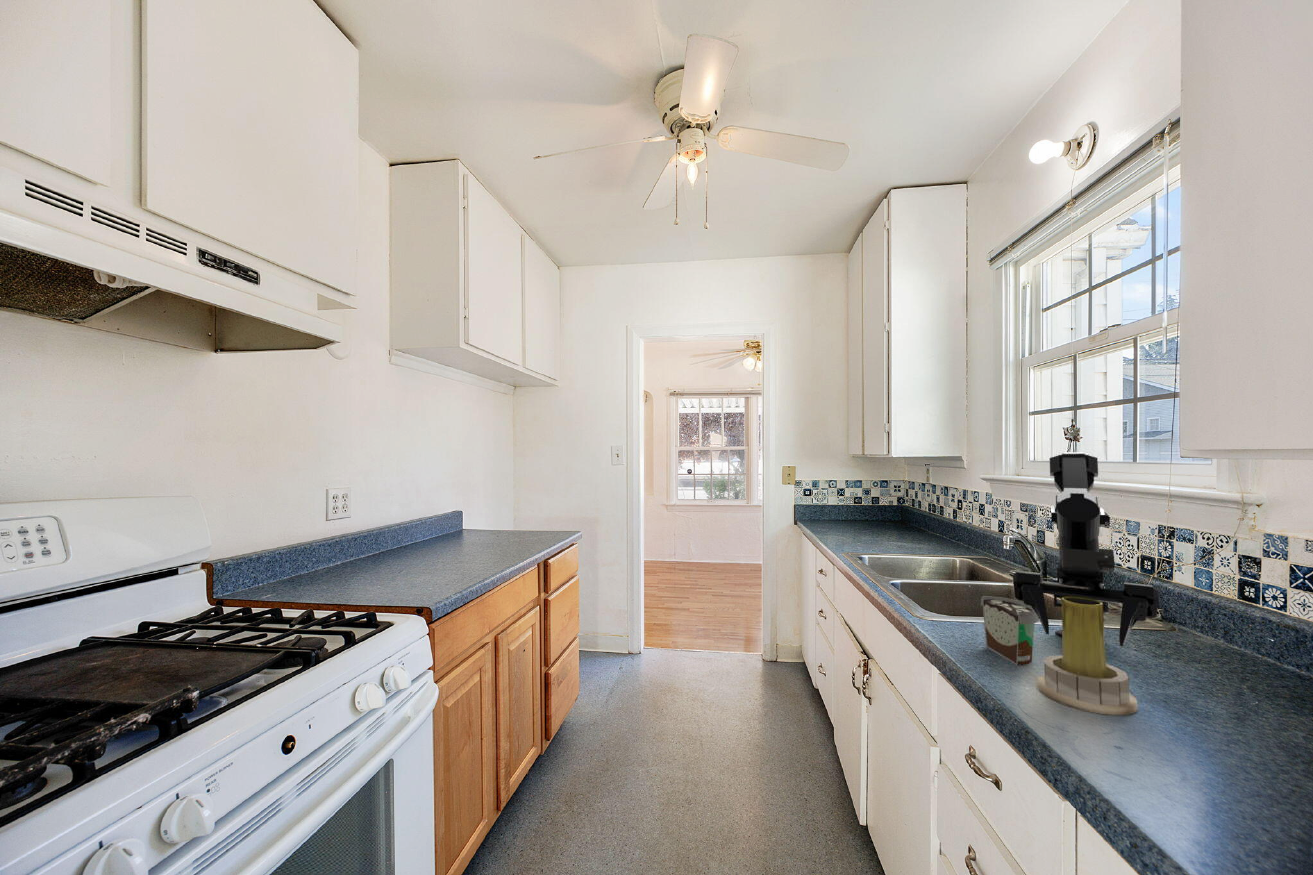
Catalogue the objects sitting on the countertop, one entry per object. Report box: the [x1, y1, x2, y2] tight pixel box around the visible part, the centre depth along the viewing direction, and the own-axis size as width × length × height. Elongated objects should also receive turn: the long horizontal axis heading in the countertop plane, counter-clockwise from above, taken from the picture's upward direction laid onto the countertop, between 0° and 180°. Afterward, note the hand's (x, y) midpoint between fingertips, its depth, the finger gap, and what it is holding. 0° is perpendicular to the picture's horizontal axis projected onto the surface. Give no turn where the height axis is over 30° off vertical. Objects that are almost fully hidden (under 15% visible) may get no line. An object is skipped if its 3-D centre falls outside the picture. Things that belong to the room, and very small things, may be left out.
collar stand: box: [1037, 655, 1138, 716], centre depth 84 cm, size 12×12×4 cm
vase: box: [1061, 596, 1107, 679], centre depth 84 cm, size 6×6×14 cm
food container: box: [980, 595, 1040, 666], centre depth 101 cm, size 12×6×10 cm, turn 179°
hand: (1083, 638), depth 83 cm, fingers open, 9 cm apart
